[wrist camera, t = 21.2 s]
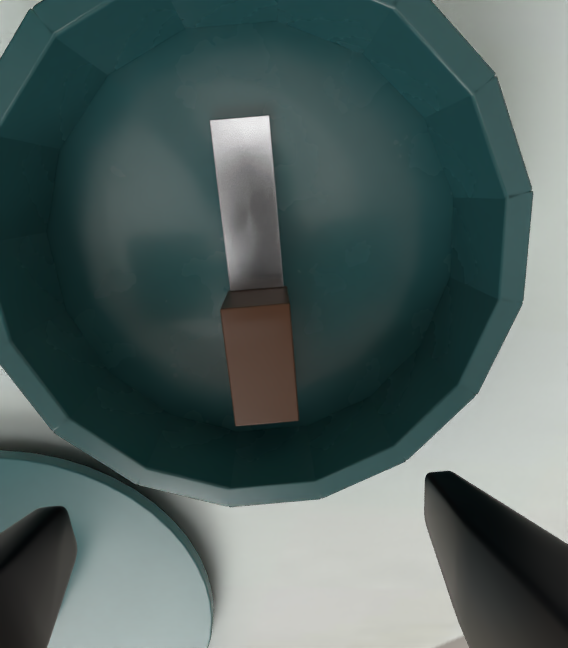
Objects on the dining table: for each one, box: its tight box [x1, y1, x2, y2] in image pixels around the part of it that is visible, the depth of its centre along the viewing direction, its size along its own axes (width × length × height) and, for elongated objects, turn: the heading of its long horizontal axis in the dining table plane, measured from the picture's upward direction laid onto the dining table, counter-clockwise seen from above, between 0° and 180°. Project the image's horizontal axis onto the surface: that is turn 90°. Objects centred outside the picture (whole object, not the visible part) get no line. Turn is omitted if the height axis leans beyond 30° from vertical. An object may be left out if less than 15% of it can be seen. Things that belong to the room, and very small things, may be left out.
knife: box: [209, 115, 299, 426], centre depth 13 cm, size 9×2×2 cm, turn 5°
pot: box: [0, 0, 533, 507], centre depth 13 cm, size 14×14×4 cm
